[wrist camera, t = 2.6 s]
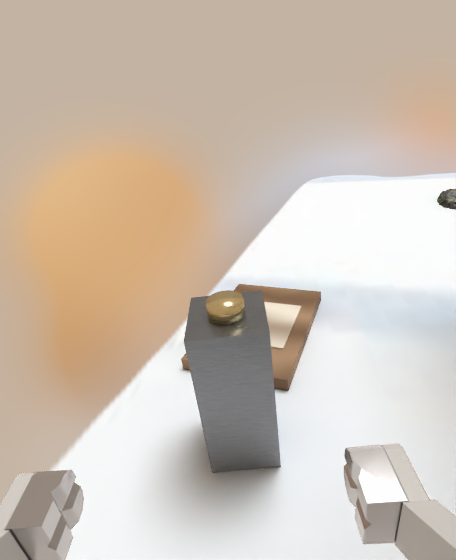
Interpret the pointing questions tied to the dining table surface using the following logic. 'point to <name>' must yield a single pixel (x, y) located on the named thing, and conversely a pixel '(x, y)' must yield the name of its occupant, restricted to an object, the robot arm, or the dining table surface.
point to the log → (448, 199)
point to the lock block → (233, 379)
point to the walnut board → (284, 327)
